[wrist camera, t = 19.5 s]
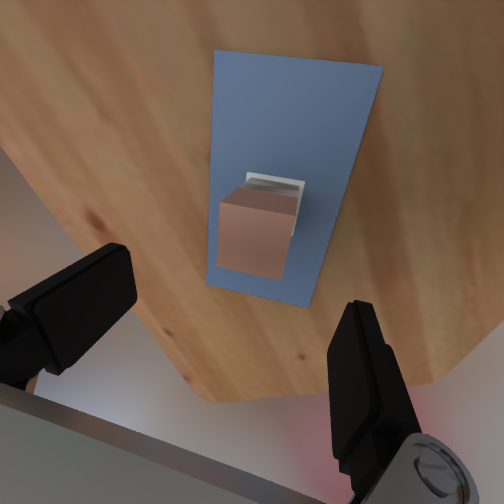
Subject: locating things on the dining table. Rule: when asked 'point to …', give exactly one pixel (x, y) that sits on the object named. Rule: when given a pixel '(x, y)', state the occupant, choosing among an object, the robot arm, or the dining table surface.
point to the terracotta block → (255, 232)
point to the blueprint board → (286, 152)
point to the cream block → (271, 186)
